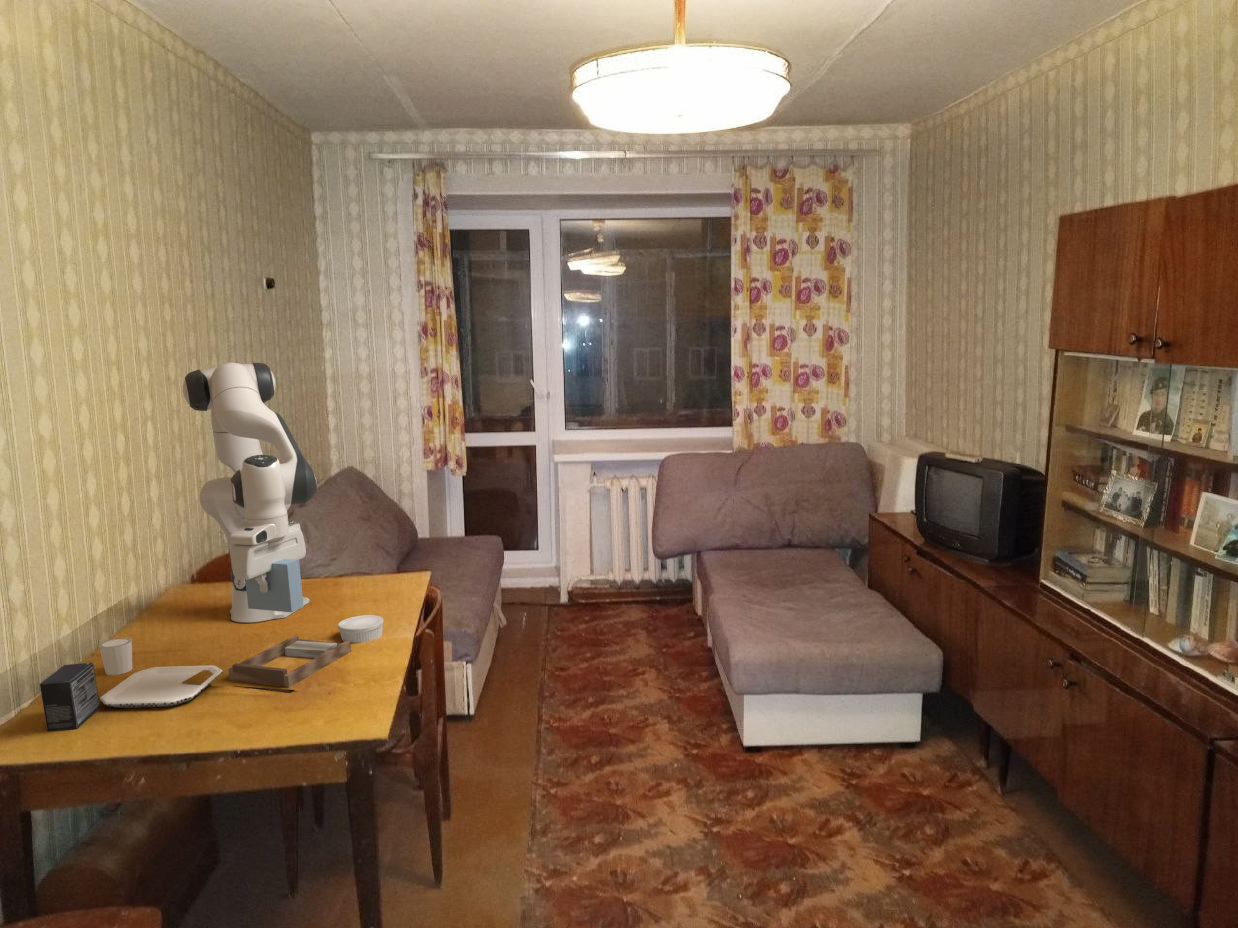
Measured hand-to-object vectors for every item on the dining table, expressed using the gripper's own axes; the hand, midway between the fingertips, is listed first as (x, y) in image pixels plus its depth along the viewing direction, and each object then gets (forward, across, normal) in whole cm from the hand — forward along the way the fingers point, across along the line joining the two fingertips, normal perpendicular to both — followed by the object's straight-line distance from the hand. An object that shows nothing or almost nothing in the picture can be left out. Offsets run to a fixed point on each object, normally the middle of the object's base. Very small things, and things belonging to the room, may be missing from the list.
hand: (273, 587), depth 212 cm
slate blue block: (+5, 0, 0) cm, 5 cm away
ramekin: (+21, -25, +4) cm, 33 cm away
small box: (+21, +31, -28) cm, 47 cm away
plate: (+22, +14, -21) cm, 33 cm away
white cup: (+21, +7, -42) cm, 48 cm away
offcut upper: (+20, -11, 0) cm, 22 cm away
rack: (+21, -4, 0) cm, 21 cm away
